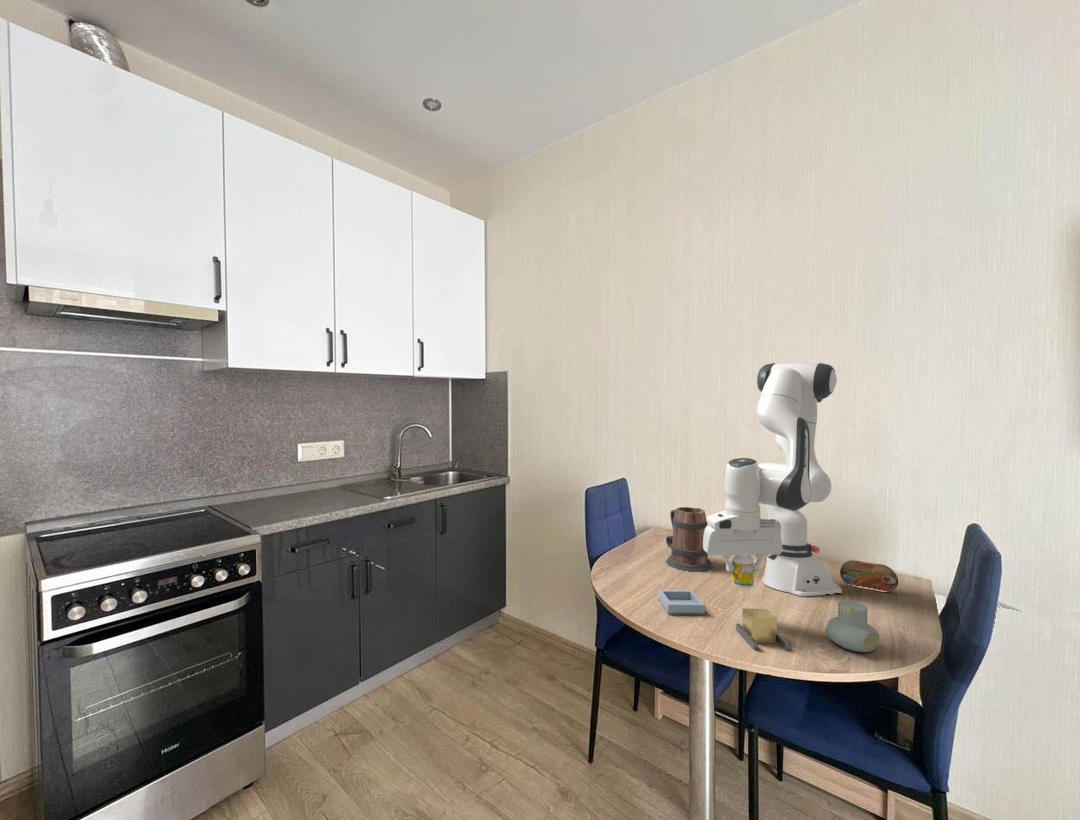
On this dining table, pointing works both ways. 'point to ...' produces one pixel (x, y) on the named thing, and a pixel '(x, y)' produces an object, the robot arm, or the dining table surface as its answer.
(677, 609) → the tray
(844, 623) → the grey rounded piece
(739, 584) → the supplement bottle
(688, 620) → the dining table surface
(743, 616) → the block
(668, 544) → the tankard
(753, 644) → the piston track
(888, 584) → the tin
